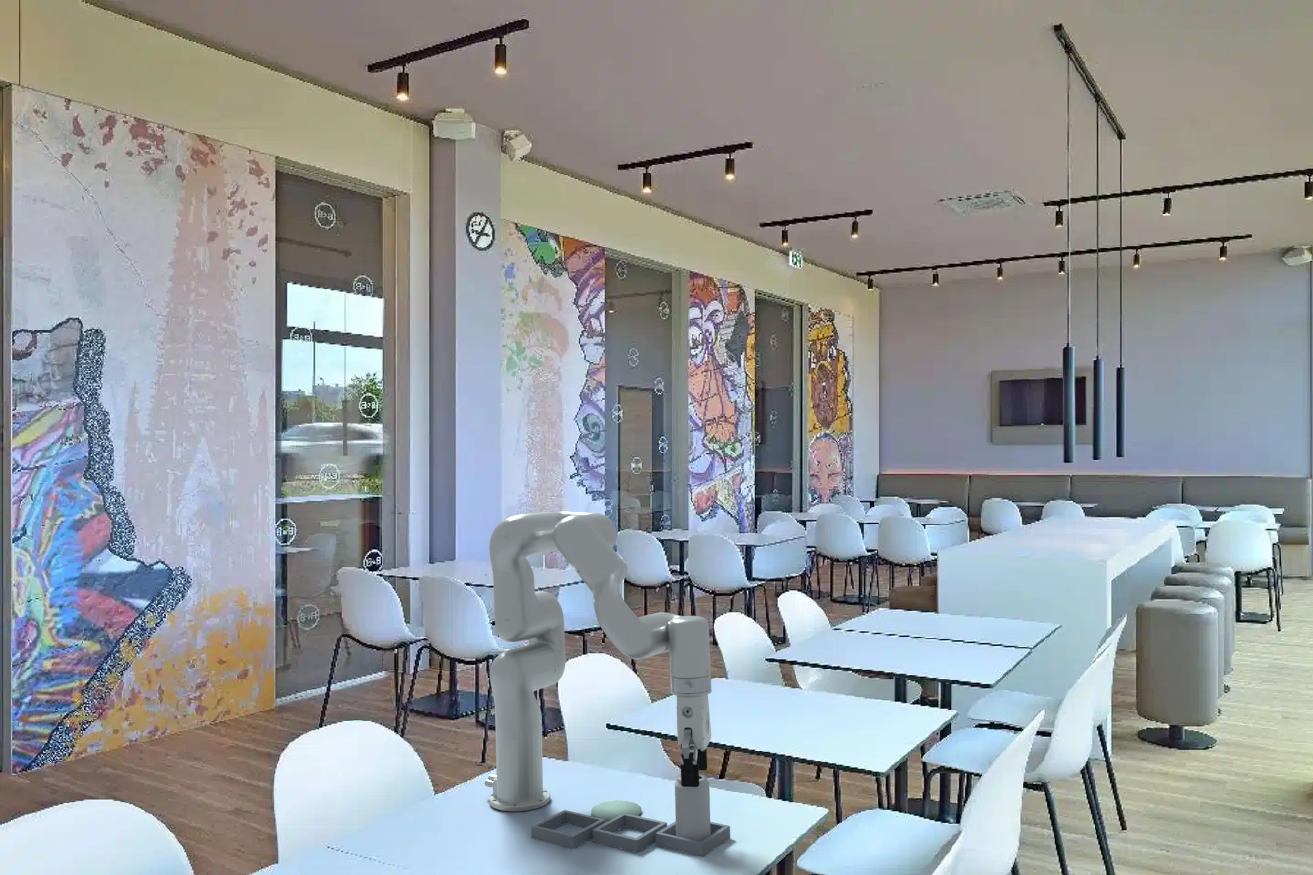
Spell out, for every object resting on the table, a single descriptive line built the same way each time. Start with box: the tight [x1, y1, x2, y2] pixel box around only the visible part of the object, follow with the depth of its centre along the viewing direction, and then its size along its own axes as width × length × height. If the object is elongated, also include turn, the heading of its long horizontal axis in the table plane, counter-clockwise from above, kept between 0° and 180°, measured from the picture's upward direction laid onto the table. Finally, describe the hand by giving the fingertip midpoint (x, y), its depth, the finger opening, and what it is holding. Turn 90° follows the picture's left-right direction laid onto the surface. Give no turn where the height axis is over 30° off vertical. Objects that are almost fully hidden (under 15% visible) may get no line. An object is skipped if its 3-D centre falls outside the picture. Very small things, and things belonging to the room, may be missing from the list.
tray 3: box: [655, 820, 731, 857], centre depth 183 cm, size 10×10×2 cm
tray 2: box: [592, 813, 668, 853], centre depth 185 cm, size 10×10×2 cm
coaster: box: [590, 800, 642, 822], centre depth 198 cm, size 10×10×1 cm
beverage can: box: [674, 772, 711, 842], centre depth 183 cm, size 6×6×12 cm
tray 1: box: [530, 809, 607, 850], centre depth 187 cm, size 10×10×2 cm
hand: (694, 777), depth 182 cm, fingers open, 9 cm apart
